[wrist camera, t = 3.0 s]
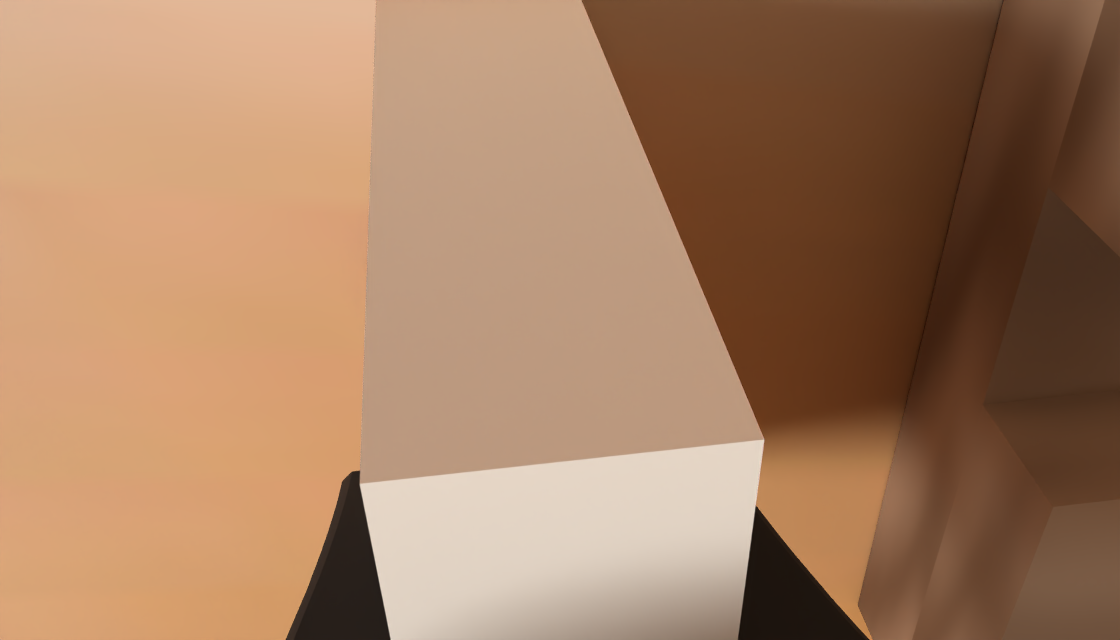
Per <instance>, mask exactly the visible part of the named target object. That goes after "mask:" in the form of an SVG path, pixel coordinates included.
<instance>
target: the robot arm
mask: <svg viewBox="0 0 1120 640" xmlns="http://www.w3.org/2000/svg"><path fill="white" fill-rule="evenodd" d="M286 640H391V638H390V633H389V628H388V623H387V618H386V613H385V608H384V603H383V598H382V593H381V588H380V583H379V578H378V573H377V568H376V563H375V558H374V553H373V548H372V543H371V538H370V533H369V528H368V523H367V518H366V513H365V508H364V503H363V498H362V493H361V488H360V471H354V472H351V473H350V474H349V475H348V476H347V477H346V478H345V479H344V480H343V481H342V485H341V489H340V493H339V497H338V501H337V505H336V508H335V511H334V515H333V518H332V521H331V525H330V528H329V531H328V534H327V537H326V540H325V543H324V545H323V548H322V551H321V554H320V557H319V559H318V562H317V565H316V567H315V570H314V573H313V575H312V578H311V581H310V583H309V586H308V588H307V591H306V593H305V596H304V598H303V600H302V603H301V605H300V607H299V610H298V612H297V614H296V617H295V619H294V621H293V624H292V626H291V628H290V631H289V633H288V636H287V638H286ZM738 640H869V639H868V638H867V637H866V636H865V634H864V633H863V632H862V631H861V630H860V629H859V628H858V627H857V626H856V625H855V624H854V623H853V621H852V620H851V619H850V618H849V617H848V616H847V615H846V614H845V613H844V611H843V610H842V609H841V608H840V607H839V606H838V605H837V604H836V602H835V601H834V600H833V599H832V598H831V597H830V595H829V594H828V593H827V592H826V591H825V590H824V588H823V587H822V586H821V585H820V584H819V583H818V581H817V580H816V579H815V578H814V577H813V576H812V574H811V573H810V572H809V571H808V570H807V568H806V567H805V566H804V565H803V564H802V563H801V561H800V560H799V559H798V558H797V557H796V556H795V554H794V553H793V552H792V551H791V549H790V548H789V547H788V546H787V544H786V543H785V542H784V541H783V540H782V538H781V537H780V536H779V535H778V533H777V532H776V531H775V529H774V528H773V527H772V526H771V524H770V523H769V522H768V520H767V519H766V518H765V517H764V515H763V514H762V513H761V511H760V510H759V509H758V507H757V506H755V514H754V521H753V529H752V536H751V544H750V551H749V559H748V566H747V574H746V581H745V589H744V596H743V604H742V611H741V619H740V626H739V634H738Z"/></svg>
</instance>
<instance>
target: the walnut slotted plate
mask: <svg viewBox="0 0 1120 640" xmlns="http://www.w3.org/2000/svg"><path fill="white" fill-rule="evenodd" d="M858 607H859V609H860V611H861V614H862V616H863V618H864V620H865V623H866V625H867V627H868V630H869V632H870V634H871V636H872V639H873V640H1120V0H1004V1H1003V5H1002V9H1001V13H1000V17H999V22H998V26H997V30H996V34H995V38H994V42H993V47H992V51H991V55H990V59H989V63H988V67H987V71H986V76H985V80H984V84H983V88H982V92H981V96H980V100H979V105H978V109H977V113H976V117H975V121H974V125H973V129H972V134H971V138H970V142H969V146H968V150H967V154H966V159H965V163H964V167H963V171H962V175H961V179H960V183H959V188H958V192H957V196H956V200H955V204H954V208H953V212H952V217H951V221H950V225H949V229H948V233H947V237H946V241H945V246H944V250H943V254H942V258H941V262H940V266H939V271H938V275H937V279H936V283H935V287H934V291H933V295H932V300H931V304H930V308H929V312H928V316H927V320H926V324H925V329H924V333H923V337H922V341H921V345H920V349H919V353H918V358H917V362H916V366H915V370H914V374H913V378H912V383H911V387H910V391H909V395H908V399H907V403H906V407H905V412H904V416H903V420H902V424H901V428H900V432H899V436H898V441H897V445H896V449H895V453H894V457H893V461H892V465H891V470H890V474H889V478H888V482H887V486H886V490H885V495H884V499H883V503H882V507H881V511H880V515H879V519H878V524H877V528H876V532H875V536H874V540H873V544H872V548H871V553H870V557H869V561H868V565H867V569H866V573H865V577H864V582H863V586H862V590H861V594H860V598H859V602H858Z"/></svg>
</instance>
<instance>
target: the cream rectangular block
mask: <svg viewBox="0 0 1120 640" xmlns="http://www.w3.org/2000/svg"><path fill="white" fill-rule="evenodd" d="M763 446H764V437H763V435H762V433H761V430H760V428H759V425H758V423H757V421H756V418H755V416H754V413H753V411H752V409H751V406H750V404H749V401H748V399H747V397H746V394H745V392H744V389H743V387H742V385H741V382H740V380H739V377H738V375H737V373H736V370H735V368H734V365H733V363H732V361H731V358H730V356H729V353H728V351H727V349H726V346H725V344H724V341H723V339H722V337H721V334H720V332H719V329H718V327H717V324H716V322H715V320H714V317H713V315H712V312H711V310H710V308H709V305H708V303H707V300H706V298H705V296H704V293H703V291H702V288H701V286H700V284H699V281H698V279H697V276H696V274H695V272H694V269H693V267H692V264H691V262H690V260H689V257H688V255H687V252H686V250H685V248H684V245H683V243H682V240H681V238H680V236H679V233H678V231H677V228H676V226H675V224H674V221H673V219H672V216H671V214H670V212H669V209H668V207H667V204H666V202H665V200H664V197H663V195H662V192H661V190H660V188H659V185H658V183H657V180H656V178H655V176H654V173H653V171H652V168H651V166H650V164H649V161H648V159H647V156H646V154H645V152H644V149H643V147H642V144H641V142H640V140H639V137H638V135H637V132H636V130H635V128H634V125H633V123H632V120H631V118H630V116H629V113H628V111H627V108H626V106H625V104H624V101H623V99H622V96H621V94H620V92H619V89H618V87H617V84H616V82H615V80H614V77H613V75H612V72H611V70H610V68H609V65H608V63H607V60H606V58H605V56H604V53H603V51H602V48H601V46H600V44H599V41H598V39H597V36H596V34H595V32H594V29H593V27H592V24H591V22H590V20H589V17H588V15H587V12H586V10H585V8H584V5H583V3H582V0H376V15H375V45H374V74H373V104H372V133H371V163H370V192H369V222H368V251H367V281H366V310H365V340H364V370H363V399H362V429H361V458H360V488H361V493H362V498H363V503H364V508H365V513H366V518H367V523H368V528H369V533H370V538H371V543H372V548H373V553H374V558H375V563H376V568H377V573H378V578H379V583H380V588H381V593H382V598H383V603H384V608H385V613H386V618H387V623H388V628H389V633H390V638H391V640H738V634H739V626H740V619H741V611H742V604H743V596H744V589H745V581H746V574H747V566H748V559H749V551H750V544H751V536H752V529H753V521H754V514H755V506H756V499H757V491H758V484H759V476H760V469H761V461H762V454H763Z"/></svg>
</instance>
